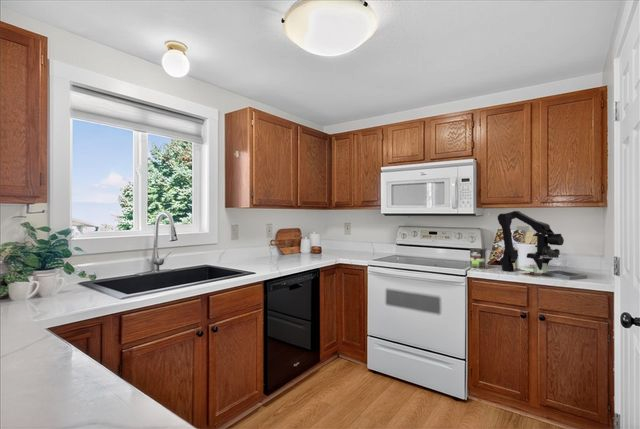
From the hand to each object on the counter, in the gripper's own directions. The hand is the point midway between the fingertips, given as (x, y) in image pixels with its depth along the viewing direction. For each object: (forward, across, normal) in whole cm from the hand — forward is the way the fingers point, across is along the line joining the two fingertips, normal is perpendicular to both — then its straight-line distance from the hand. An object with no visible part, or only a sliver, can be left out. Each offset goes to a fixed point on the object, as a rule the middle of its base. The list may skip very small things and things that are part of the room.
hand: (542, 269), depth 199 cm
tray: (+5, +13, -3) cm, 14 cm away
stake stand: (+5, 0, +7) cm, 9 cm away
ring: (+1, 0, +5) cm, 5 cm away
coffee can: (+6, -12, +40) cm, 42 cm away
